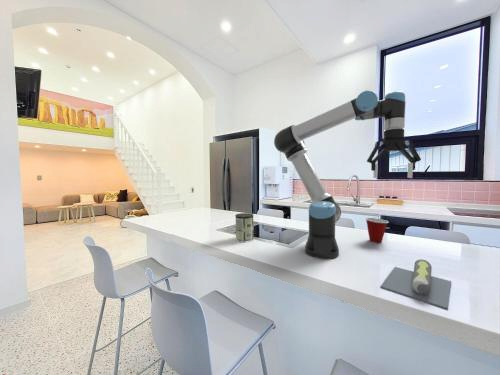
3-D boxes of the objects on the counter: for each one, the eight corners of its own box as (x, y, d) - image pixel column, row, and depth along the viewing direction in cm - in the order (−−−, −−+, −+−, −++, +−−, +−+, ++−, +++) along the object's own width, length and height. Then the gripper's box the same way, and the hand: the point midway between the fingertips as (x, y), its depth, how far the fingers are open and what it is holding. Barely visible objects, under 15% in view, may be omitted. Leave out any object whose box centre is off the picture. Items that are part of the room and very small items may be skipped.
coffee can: (242, 235, 128) (242, 212, 127) (257, 238, 123) (256, 214, 122) (232, 240, 120) (231, 215, 119) (247, 243, 114) (247, 217, 113)
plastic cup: (391, 244, 109) (392, 221, 108) (368, 243, 111) (369, 221, 110) (383, 238, 119) (383, 217, 118) (362, 237, 121) (362, 216, 121)
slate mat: (394, 267, 83) (394, 266, 83) (451, 282, 71) (451, 281, 71) (380, 287, 69) (380, 286, 69) (447, 309, 57) (447, 308, 57)
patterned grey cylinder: (415, 257, 80) (411, 278, 65) (432, 261, 77) (432, 284, 61) (414, 269, 80) (410, 293, 65) (431, 273, 77) (430, 300, 62)
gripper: (422, 129, 93) (420, 177, 95) (360, 132, 100) (359, 177, 101) (432, 125, 86) (430, 178, 88) (364, 129, 92) (363, 178, 94)
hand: (392, 178), depth 94 cm, fingers open, 13 cm apart
